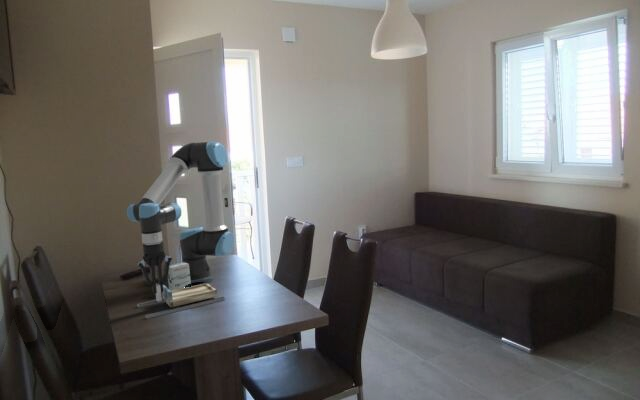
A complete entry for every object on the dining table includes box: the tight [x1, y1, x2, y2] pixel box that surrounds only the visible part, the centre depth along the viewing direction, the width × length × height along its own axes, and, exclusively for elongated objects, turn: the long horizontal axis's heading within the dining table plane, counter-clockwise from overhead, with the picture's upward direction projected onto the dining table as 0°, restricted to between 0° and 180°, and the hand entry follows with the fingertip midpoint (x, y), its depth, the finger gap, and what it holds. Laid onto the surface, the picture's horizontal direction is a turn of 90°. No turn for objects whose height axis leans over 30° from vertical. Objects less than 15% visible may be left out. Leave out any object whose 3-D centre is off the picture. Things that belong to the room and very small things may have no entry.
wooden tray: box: [161, 282, 218, 309], centre depth 190 cm, size 12×19×7 cm, turn 123°
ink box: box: [167, 262, 192, 291], centre depth 204 cm, size 9×5×12 cm, turn 135°
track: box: [136, 296, 225, 319], centre depth 188 cm, size 16×31×1 cm, turn 123°
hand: (159, 300), depth 184 cm, fingers closed
